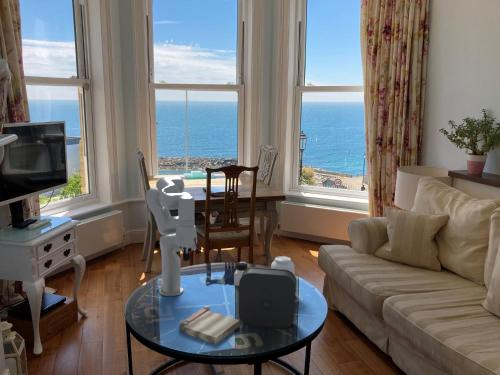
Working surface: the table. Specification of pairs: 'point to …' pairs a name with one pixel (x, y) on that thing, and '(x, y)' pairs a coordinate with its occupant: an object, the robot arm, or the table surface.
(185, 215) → the robot arm
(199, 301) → the table surface
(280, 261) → the white ribbed vase
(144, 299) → the table surface
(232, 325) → the stool seat
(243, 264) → the box camera
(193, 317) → the folding leg
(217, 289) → the table surface
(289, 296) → the speaker
